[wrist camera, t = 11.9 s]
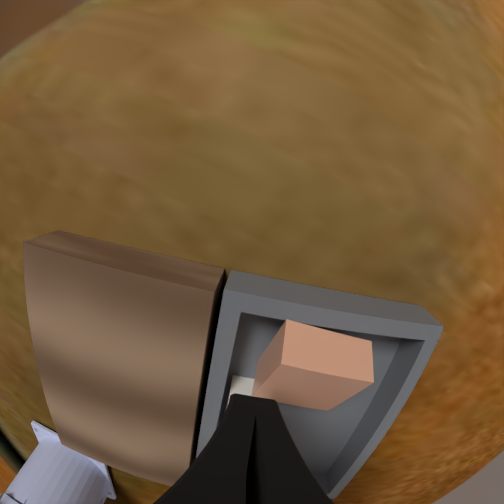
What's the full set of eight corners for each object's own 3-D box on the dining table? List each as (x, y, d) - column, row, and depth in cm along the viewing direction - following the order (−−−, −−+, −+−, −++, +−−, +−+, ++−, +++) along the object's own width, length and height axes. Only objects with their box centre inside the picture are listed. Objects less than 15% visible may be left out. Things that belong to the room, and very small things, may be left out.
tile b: (329, 376, 14) (327, 410, 13) (257, 360, 14) (251, 396, 13) (371, 341, 12) (373, 382, 10) (286, 318, 12) (280, 363, 10)
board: (193, 459, 17) (186, 489, 15) (77, 420, 17) (61, 444, 14) (224, 268, 14) (214, 292, 11) (58, 230, 14) (22, 242, 11)
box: (330, 474, 18) (334, 498, 15) (197, 459, 17) (191, 485, 15) (421, 306, 14) (443, 326, 11) (231, 269, 14) (224, 288, 11)
